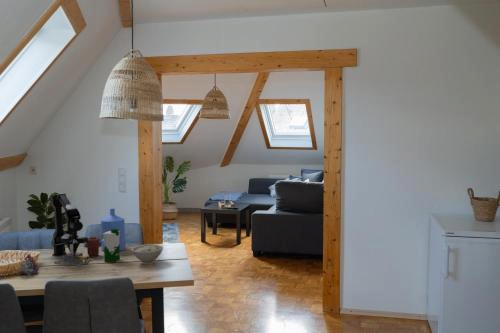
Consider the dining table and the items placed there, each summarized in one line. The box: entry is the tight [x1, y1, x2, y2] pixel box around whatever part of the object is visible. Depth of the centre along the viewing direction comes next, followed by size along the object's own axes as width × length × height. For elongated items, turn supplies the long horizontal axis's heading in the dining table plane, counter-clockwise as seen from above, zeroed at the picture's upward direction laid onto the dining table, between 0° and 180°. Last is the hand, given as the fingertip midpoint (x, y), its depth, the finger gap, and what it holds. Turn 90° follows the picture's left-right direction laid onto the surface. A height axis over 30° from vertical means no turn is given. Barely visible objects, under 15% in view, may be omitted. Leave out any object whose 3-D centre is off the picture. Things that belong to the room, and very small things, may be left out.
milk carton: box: [102, 229, 121, 263], centre depth 303 cm, size 9×9×20 cm
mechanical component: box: [84, 236, 102, 258], centre depth 315 cm, size 12×10×10 cm
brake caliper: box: [18, 253, 40, 276], centre depth 277 cm, size 11×11×12 cm
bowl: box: [131, 244, 164, 265], centre depth 298 cm, size 19×19×10 cm
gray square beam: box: [69, 244, 75, 255], centre depth 301 cm, size 2×2×8 cm
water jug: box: [100, 208, 126, 252], centre depth 331 cm, size 16×16×28 cm
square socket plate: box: [54, 251, 93, 266], centre depth 301 cm, size 19×12×5 cm, turn 75°
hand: (73, 253), depth 301 cm, fingers closed on gray square beam, 2 cm apart
